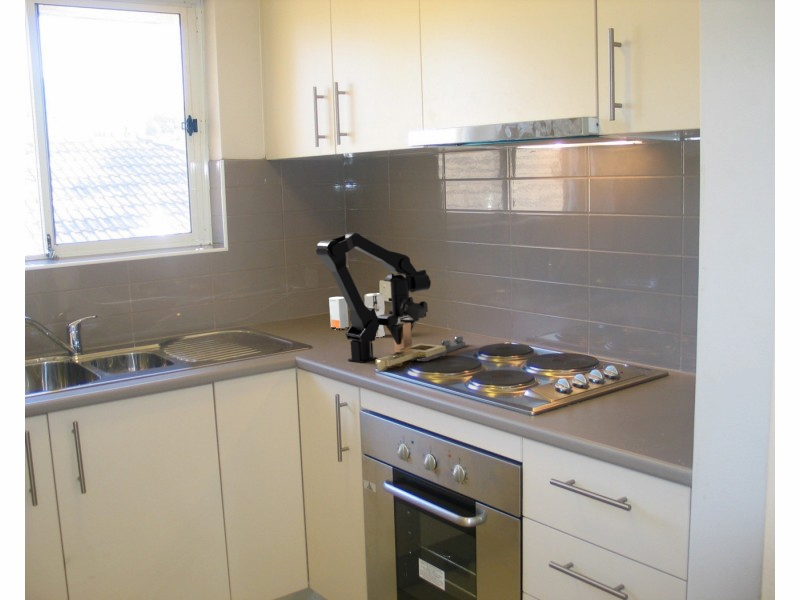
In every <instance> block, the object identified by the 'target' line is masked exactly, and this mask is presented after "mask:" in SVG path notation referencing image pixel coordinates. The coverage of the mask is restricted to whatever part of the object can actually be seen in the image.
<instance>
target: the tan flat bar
mask: <svg viewBox="0 0 800 600" xmlns="http://www.w3.org/2000/svg"><path fill="white" fill-rule="evenodd" d="M453 339H454V340H450V339H442V340H441V343H440V344H430V343H429V344H428V343H421V342H420V343H417V344H412V346H409V347H406V348H403V349H399V350H400V352H395V353H393V354H389V355H386V356H382V357H378V358H376V359H374V360H375V365H376V366H377V372H380V371H382V370H387V369H388V367H390V366H393V367H396V366H398V367H402V365H404V362H406V361H412V362H413V361H414V360H417V359H422V358H429V357H434V356H443V355H446V356H447V353H449V352H452V351H455V350H458V349H462V348H465V347H466V341H464V336H463V335H455V336H454V337H453ZM443 357H444V356H443ZM414 362H415V361H414ZM387 371H388V370H387Z"/></svg>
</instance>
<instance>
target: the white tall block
mask: <svg viewBox="0 0 800 600" xmlns="http://www.w3.org/2000/svg"><path fill="white" fill-rule="evenodd" d="M384 298H385V297H384V293H382V292H370V293H365V294H364V304H365V306H366V307H369V308H374V310H375V312H376V315H377V316H379V315H383V314H385V310H386V308H385V299H384ZM383 336H384V337H385V336H386V333H385V330H384V325H379V328H378V331H377V333H376V337H379V338H384V337H383Z"/></svg>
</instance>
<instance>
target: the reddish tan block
mask: <svg viewBox="0 0 800 600" xmlns="http://www.w3.org/2000/svg"><path fill="white" fill-rule="evenodd" d="M400 323H403V326H402V327H401V341H400V345H398V344H397V343H396V342H395V340H394V339H393V346H394V347H393V348H394V352H395V353H398V352H400V350H399V349H403V348H406V347H409V346H413V343H412V341H413V339H412V331H411V322H400Z"/></svg>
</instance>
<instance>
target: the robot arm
mask: <svg viewBox="0 0 800 600" xmlns="http://www.w3.org/2000/svg"><path fill="white" fill-rule="evenodd" d="M353 249H355V250H357V251H359V252H361V253H363V254H365V255H367V256H369V257H370V258H372V259H374V260H376V261H377V262H379V263H380V264H381V266H382V267H383V268H384V269H386V270H387V271H388V272H389V273H388V274H387V276H386V277H384V279H383V281H384V282H390V283H389V284H390V285H389V286H390V297H388V302H389V303H391V310H389V312H388V313H389V314H388V313H384V314H383V315H379V316H377V315H376V312H375V310H374V308H369V307H366V306H365V301H363V299H362V296H361V294H360V291H359V289H358V287H357V285H356V283H355V282H354V280H353V277H352V275H351V272H350V271H349V268H348V267H347V253H348V252H350V251H352V250H353ZM315 252H316V255H317V257H318V258H319V259H320V261H321V262H322V264H323V265H324V266H326V267H327V268H328V269H329V270H330V272H331V273H332V275H333V277H334V280H335V282H336V284H337V286H338V288H339V290H340V292H341V295H342V297H344V299H345V301H346V303H347V308H348V309H349V311H350V312H349V321H350V324H351V325H350V326H349V329H347V331H346V332H345V337H346V339H347V340H350V352H351V354H350V355H351V357H350V358H348V359H347V361H348V362H354V363H355V362H356V363H366V362H367V363H368V362H370V361H372V360H375V359H378V358H377V356H374V345H373V342H374V341H376V339H377V338H376V333H377V331H378V328H379V325H383V327H385V326H386V328H387V330H388V331H389V332H390V334H391V336H392V338H393V341H394V340H395V342H396V343H397V344H398V345H400V341H401V327H402V326H403V323H400V322H411V332H413V328H414V326H415V324H416V323H417V322H419V321H420V319H424V318H426V317H427V313H428V312H429V309H428V303H427V301H424V300H422V301H420V302H414V298H413V296H410V293H418V292H425V291H428V290H429V289H430V288H431V284H432V282H431V279H430V276H429V275H428V273H427V270H426V269H418V270H417V269H416V268H415V266H414V265H413V264H412V263H411V258H410V257H409V256H408V255H406V254H403V253H400V252H395V251H391V250H388V249H386V248H384V247H382V246H381V245H379V244H377V243H376V242H373V241H371V240H369V238H366V237H364V236H362V235H361V234H360V233H359V232H348V233H346V234H344V235H341V236H338V237H334V238H332V239H322V240H321V241H319V242H318V243H317V246H316V248H315ZM395 273H396V274H395Z"/></svg>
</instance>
